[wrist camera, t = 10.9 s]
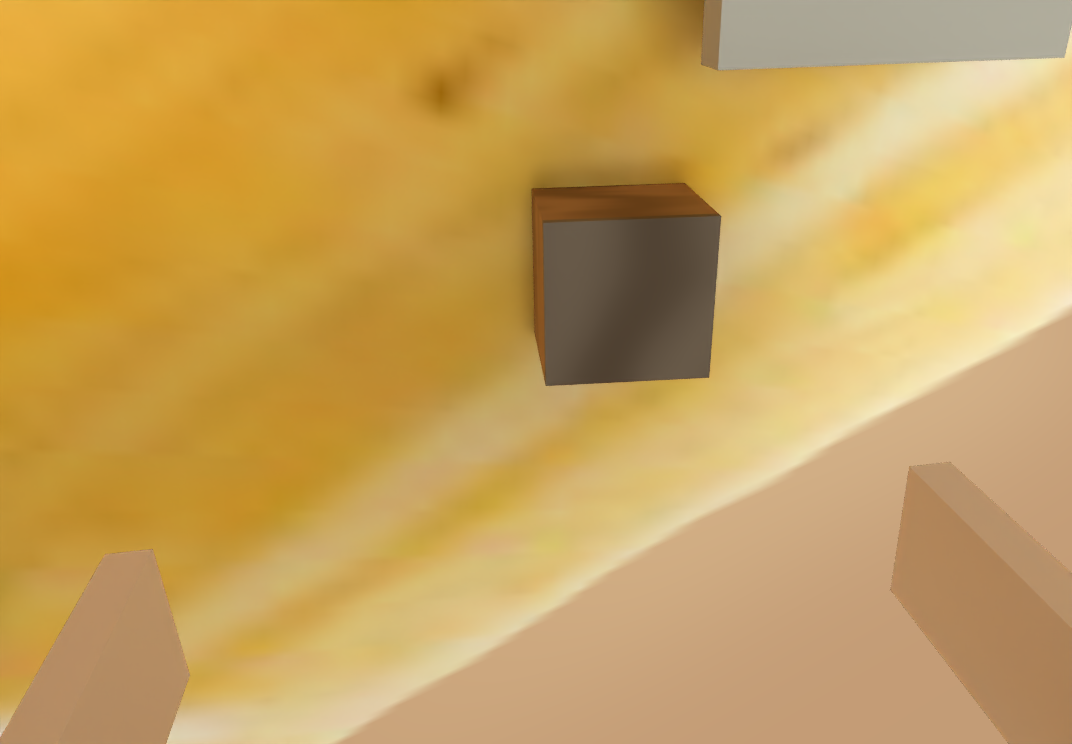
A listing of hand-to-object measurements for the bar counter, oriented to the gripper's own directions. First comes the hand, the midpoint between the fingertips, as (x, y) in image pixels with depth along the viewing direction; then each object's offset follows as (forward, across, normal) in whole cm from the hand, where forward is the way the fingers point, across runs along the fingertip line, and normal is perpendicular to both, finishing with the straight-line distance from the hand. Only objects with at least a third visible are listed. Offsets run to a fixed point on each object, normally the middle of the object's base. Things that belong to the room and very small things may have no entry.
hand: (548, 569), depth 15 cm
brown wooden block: (+26, +6, -3) cm, 27 cm away
